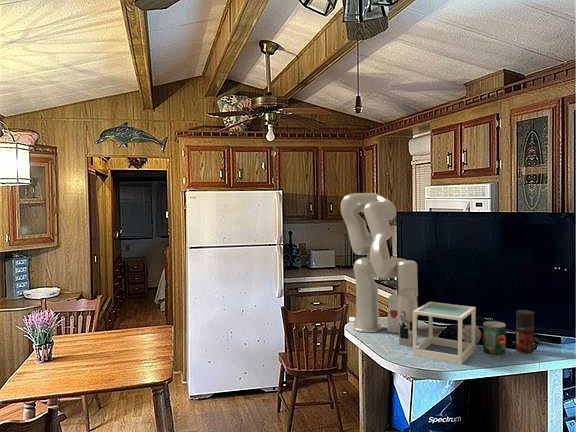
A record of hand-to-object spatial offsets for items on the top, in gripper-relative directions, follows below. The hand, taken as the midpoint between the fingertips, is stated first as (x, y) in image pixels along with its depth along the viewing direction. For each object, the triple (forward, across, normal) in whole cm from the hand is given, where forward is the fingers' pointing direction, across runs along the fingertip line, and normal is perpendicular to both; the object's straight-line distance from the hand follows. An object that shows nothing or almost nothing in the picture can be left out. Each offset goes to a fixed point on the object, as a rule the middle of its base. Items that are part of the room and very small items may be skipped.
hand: (409, 335), depth 201 cm
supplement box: (+3, -16, -11) cm, 20 cm away
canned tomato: (+5, -8, +30) cm, 31 cm away
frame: (+4, +2, +15) cm, 15 cm away
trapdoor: (-11, +2, +15) cm, 19 cm away
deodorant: (+5, -16, +39) cm, 42 cm away
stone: (+4, 0, -1) cm, 4 cm away
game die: (+4, -14, +20) cm, 25 cm away
